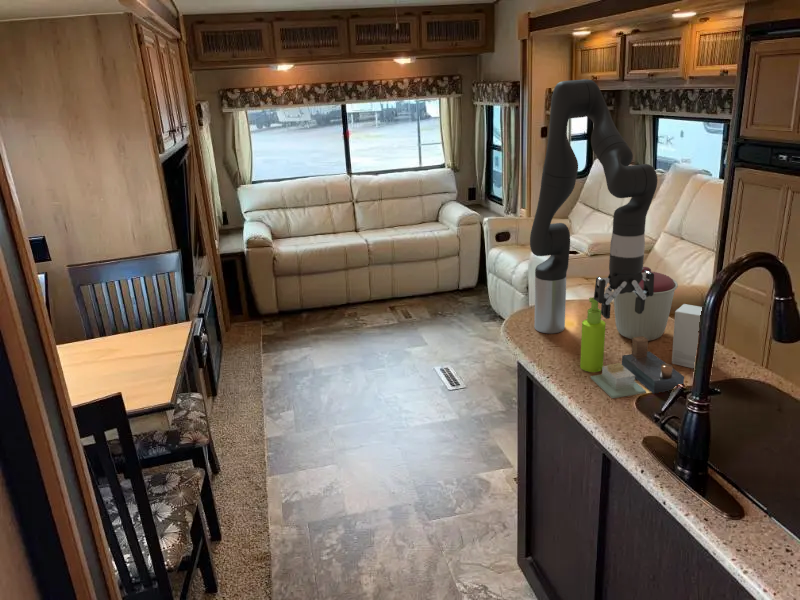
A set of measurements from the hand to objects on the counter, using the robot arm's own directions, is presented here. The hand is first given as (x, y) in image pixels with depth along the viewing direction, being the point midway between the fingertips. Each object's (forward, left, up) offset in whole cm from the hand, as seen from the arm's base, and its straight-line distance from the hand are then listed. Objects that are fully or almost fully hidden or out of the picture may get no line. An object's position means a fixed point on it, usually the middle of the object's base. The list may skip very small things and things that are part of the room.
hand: (622, 315), depth 149 cm
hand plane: (-1, +10, -19) cm, 22 cm away
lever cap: (0, 0, -19) cm, 19 cm away
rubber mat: (0, 0, -19) cm, 19 cm away
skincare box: (-5, +24, -20) cm, 31 cm away
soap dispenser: (-11, -1, -20) cm, 22 cm away
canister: (-26, +22, -20) cm, 39 cm away
